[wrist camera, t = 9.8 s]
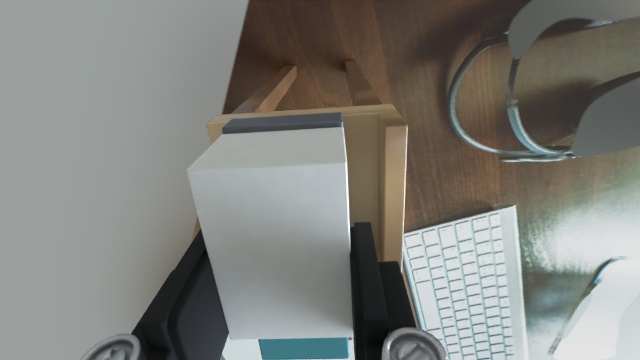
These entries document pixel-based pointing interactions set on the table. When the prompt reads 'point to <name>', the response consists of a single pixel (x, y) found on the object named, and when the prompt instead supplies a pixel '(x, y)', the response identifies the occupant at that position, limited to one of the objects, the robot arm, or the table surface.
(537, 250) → the table surface
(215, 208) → the white and teal block
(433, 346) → the robot arm
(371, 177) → the shoe shelf
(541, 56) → the table surface
